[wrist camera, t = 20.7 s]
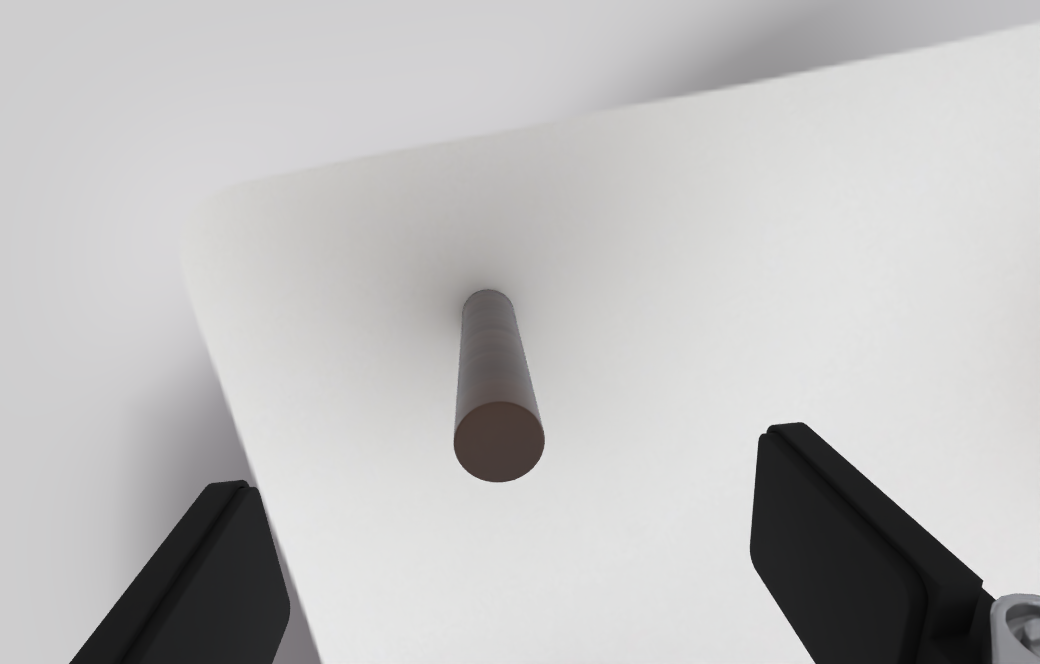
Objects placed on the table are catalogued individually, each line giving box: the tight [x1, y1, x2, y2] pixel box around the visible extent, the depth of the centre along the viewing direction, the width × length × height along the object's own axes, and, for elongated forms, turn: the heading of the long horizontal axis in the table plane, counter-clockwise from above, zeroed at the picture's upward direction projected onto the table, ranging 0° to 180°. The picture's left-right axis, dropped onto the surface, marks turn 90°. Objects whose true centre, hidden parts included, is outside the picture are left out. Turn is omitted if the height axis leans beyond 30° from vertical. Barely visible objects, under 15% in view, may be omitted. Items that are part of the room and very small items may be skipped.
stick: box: [454, 290, 545, 482], centre depth 20 cm, size 2×2×12 cm
